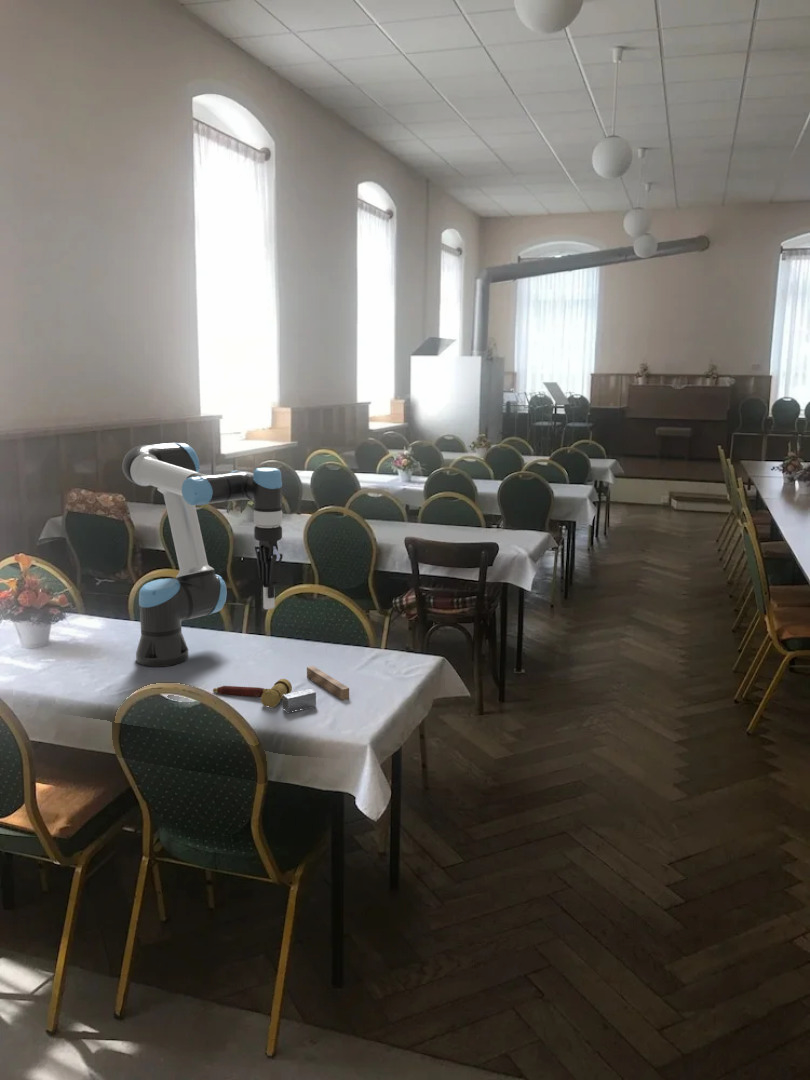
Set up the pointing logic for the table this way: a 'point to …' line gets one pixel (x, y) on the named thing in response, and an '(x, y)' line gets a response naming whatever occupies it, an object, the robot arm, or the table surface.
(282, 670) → the table surface
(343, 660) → the table surface
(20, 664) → the table surface
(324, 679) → the walnut fence
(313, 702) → the block
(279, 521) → the robot arm
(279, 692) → the gavel
